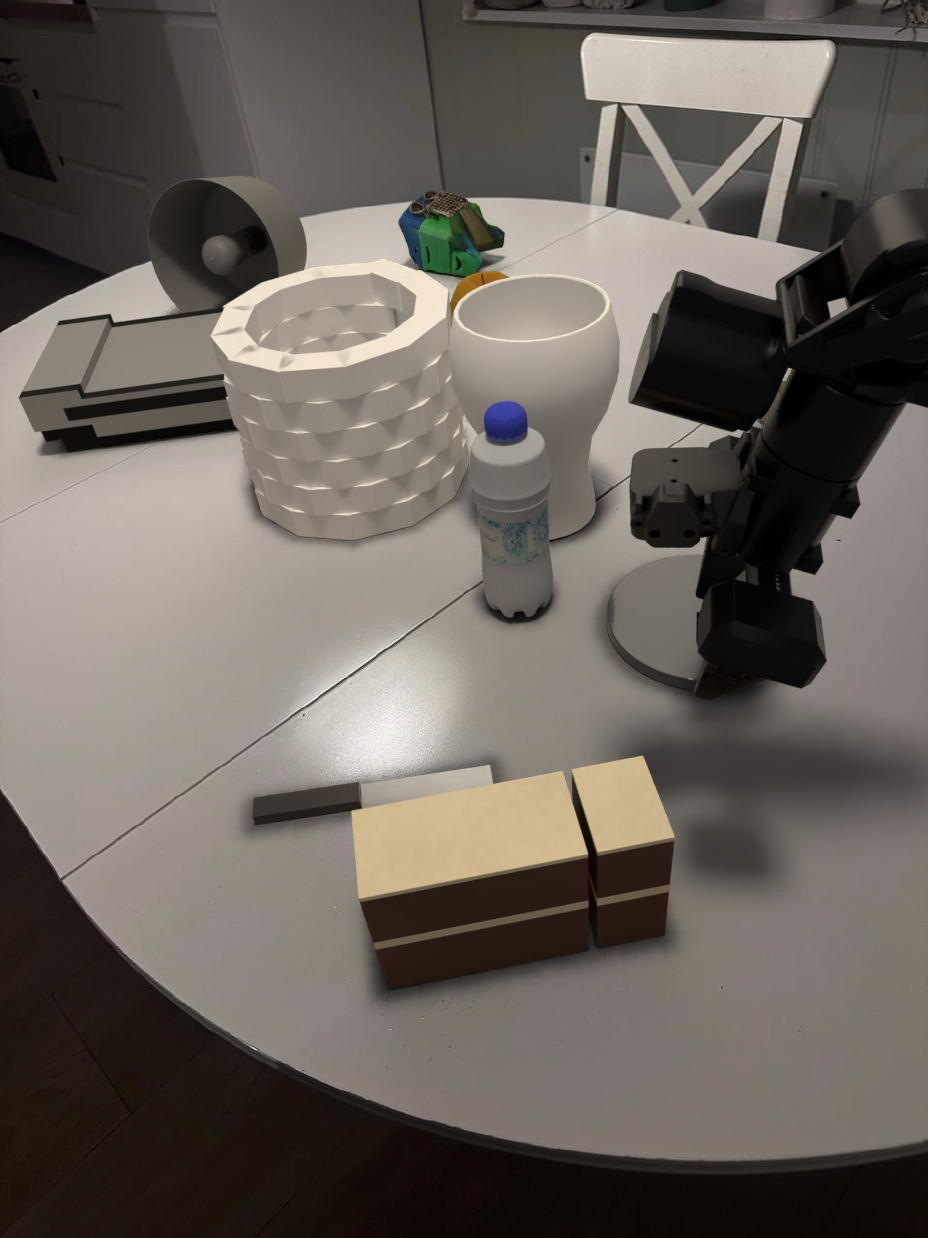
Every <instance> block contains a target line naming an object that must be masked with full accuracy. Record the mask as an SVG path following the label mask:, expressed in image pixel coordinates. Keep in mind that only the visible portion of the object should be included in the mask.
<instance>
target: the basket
mask: <svg viewBox="0 0 928 1238" xmlns="http://www.w3.org/2000/svg"><path fill="white" fill-rule="evenodd" d="M450 301H451V298H450V291H449V289H448V288H447V287H446V286H444V285H443V284H441V283H440V282H438V281H437V280H436V279H434V278H433V277H432V276H429V275H428V274H427V273H425V272H424V270H422V269H419V270H416V269H413V268H410V267H408V266H405V265H402V264H400V263H397V262H394V261H392V260H389V259H387V258H381V259H378V260H376V261H370V262H359V263H347V264H345V263H344V264H334V265H333V264H332V265H319V266H314V267H310V268H307V269H304V270H303V271H299V272H296V273H293V274H289V275H286V276H282V277H279V278H276V279H272V280H269V281H265V282H262V283H260V284H259V285H257V286H255V287H254V288H252V289H251V290H249V291H247V292H246V293H244V294H242V295H241V296H239V297H238V298H236V299H234V300H233V301H231V302H229V303H228V304H226V305H224V306H223V309H224V310H223V312H222V314H221V316H220V318H219V320H218V322H217V324H216V326H215V328H214V330H213V332H212V334H211V335H210V337H211V341H212V344H213V347H214V351H215V354H216V358H217V361H218V364H219V366H220V367H221V369H222V370H223V371H224V379H225V380H223V382H224V386H225V389H226V392H227V396H228V397H226V400H227V403H228V406H229V410H230V413H231V416H232V420H233V423H234V425H235V426H236V427H237V428H238V429H237V430H238V432H239V437H240V438H239V440H240V442H241V443H240V444H241V447H242V449H243V450H241V452H242V455H243V459H244V462H245V465H246V468H247V471H248V475H249V477H250V478H251V480H252V481H253V484H254V485H253V486H254V489H255V490H254V493H255V496H256V499H257V502H258V506H259V509H260V512H261V515H262V516H263V517H265V518H267V519H268V520H270V521H272V522H274V524H277V525H278V526H280V527H282V528H284V530H287V531H288V532H290V533H292V534H293V535H295V536H297V537H305V538H317V539H330V540H341V541H342V540H343V541H357V540H360V539H361V540H362V539H365V538H368V537H373V536H376V535H380V534H384V533H390V532H392V531H396V530H402V529H405V528H409V527H413V526H415V525H416V524H417V523H419V522H421V521H422V520H423V519H425V518H427V517H429V515H431V514H432V513H434V512H435V511H437V510H438V509H440V508H441V507H443V506H444V505H446V504H447V503H449V502H450V501H452V500H453V499H455V498H456V495H457V493H458V491H459V488H460V486H461V485H462V482H463V479H464V477H465V474H466V472H467V470H468V468H469V466H470V463H469V452H468V444H467V443H468V442H467V439H465V437H464V424H463V423H464V421H463V417H464V416H465V415H464V412H463V410H462V408H461V406H460V403H459V401H458V399H457V396H456V394H455V392H454V390H453V384H452V376H451V367H450V359H449V344H450V336H451V328H452V327H451V321H452V318H451V309H450Z"/></svg>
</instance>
